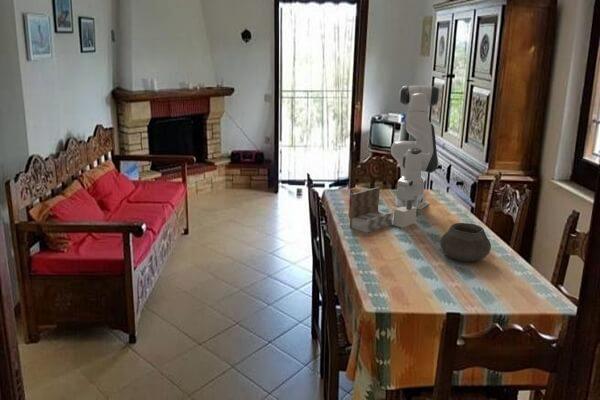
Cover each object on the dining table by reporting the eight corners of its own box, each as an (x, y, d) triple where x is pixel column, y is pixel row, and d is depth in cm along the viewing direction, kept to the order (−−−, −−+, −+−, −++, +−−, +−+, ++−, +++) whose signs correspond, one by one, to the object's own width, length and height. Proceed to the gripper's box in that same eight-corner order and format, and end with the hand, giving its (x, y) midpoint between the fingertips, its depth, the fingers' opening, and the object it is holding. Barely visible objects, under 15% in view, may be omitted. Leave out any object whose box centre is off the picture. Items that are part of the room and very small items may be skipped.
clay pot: (436, 262, 229) (440, 231, 225) (441, 246, 248) (445, 217, 244) (487, 271, 222) (492, 239, 217) (489, 254, 241) (493, 224, 237)
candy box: (364, 217, 286) (366, 191, 282) (359, 218, 284) (361, 192, 279) (353, 213, 293) (355, 187, 288) (348, 214, 290) (349, 188, 286)
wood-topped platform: (375, 218, 285) (377, 186, 280) (392, 223, 278) (395, 191, 272) (349, 226, 270) (351, 193, 265) (366, 232, 263) (369, 198, 257)
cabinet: (405, 220, 284) (408, 196, 280) (415, 223, 280) (417, 198, 276) (393, 224, 276) (395, 199, 272) (402, 227, 272) (404, 202, 268)
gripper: (417, 175, 279) (415, 200, 283) (395, 181, 265) (393, 207, 269) (427, 178, 275) (425, 202, 279) (406, 184, 261) (403, 210, 265)
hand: (409, 205), depth 274 cm, fingers open, 7 cm apart
